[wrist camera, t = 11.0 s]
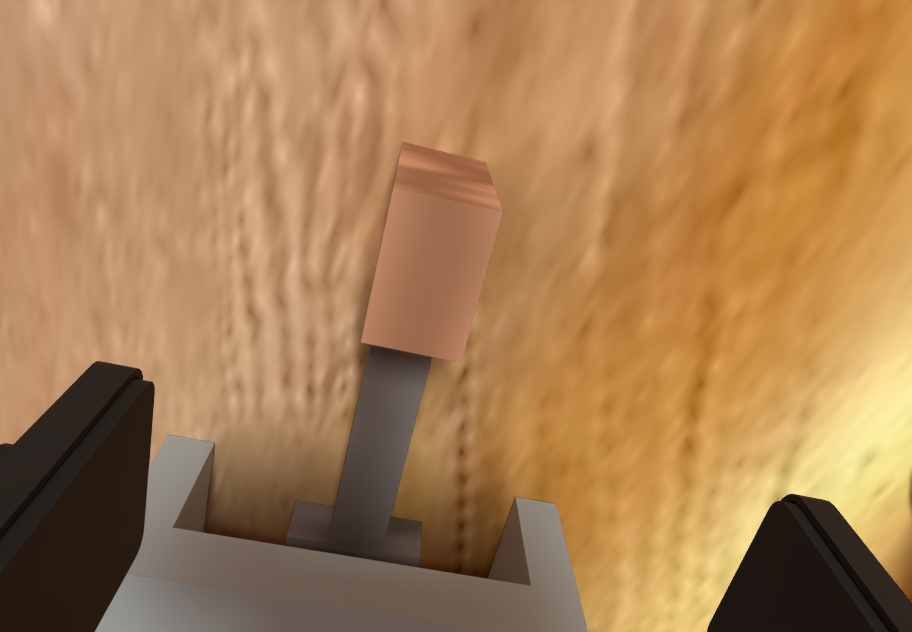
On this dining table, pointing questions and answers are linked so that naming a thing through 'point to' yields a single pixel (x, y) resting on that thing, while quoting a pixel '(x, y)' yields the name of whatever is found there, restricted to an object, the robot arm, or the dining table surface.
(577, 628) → the bridge block
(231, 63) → the dining table surface
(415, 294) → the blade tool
